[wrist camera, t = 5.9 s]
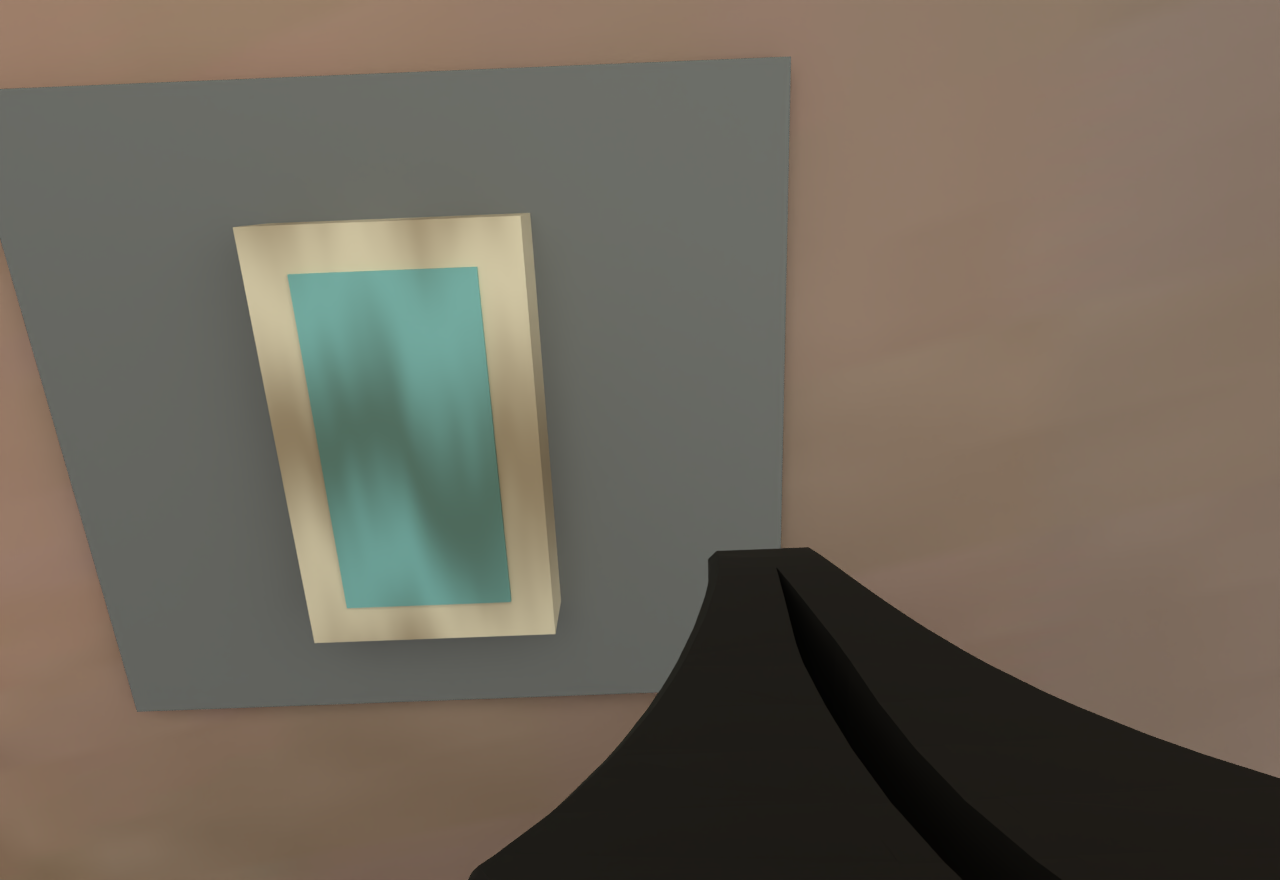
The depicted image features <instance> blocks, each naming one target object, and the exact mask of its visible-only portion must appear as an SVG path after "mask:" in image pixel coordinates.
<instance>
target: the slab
mask: <svg viewBox="0 0 1280 880" xmlns="http://www.w3.org/2000/svg"><path fill="white" fill-rule="evenodd" d="M233 232H234V237H235V242H236V247H237V252H238V257H239V262H240V267H241V272H242V277H243V282H244V288H245V293H246V298H247V303H248V308H249V313H250V318H251V323H252V328H253V333H254V338H255V343H256V348H257V354H258V359H259V364H260V369H261V374H262V379H263V384H264V389H265V394H266V399H267V404H268V409H269V414H270V420H271V425H272V430H273V435H274V440H275V445H276V450H277V455H278V460H279V465H280V470H281V475H282V480H283V486H284V491H285V496H286V501H287V506H288V511H289V516H290V521H291V526H292V531H293V536H294V541H295V546H296V552H297V557H298V562H299V567H300V572H301V577H302V582H303V587H304V592H305V597H306V602H307V607H308V612H309V618H310V623H311V628H312V633H313V638H314V643H331V642H357V641H384V640H411V639H438V638H464V637H491V636H518V635H545V634H555V633H556V627H557V622H558V616H559V610H560V605H561V594H560V581H559V569H558V556H557V543H556V531H555V518H554V506H553V493H552V481H551V468H550V456H549V443H548V430H547V418H546V405H545V393H544V380H543V368H542V355H541V343H540V330H539V317H538V305H537V292H536V280H535V267H534V255H533V242H532V230H531V217H530V213H514V214H489V215H465V216H440V217H415V218H390V219H365V220H340V221H315V222H290V223H267V224H257V225H248V226H239V227H233Z"/></svg>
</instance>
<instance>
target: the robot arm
mask: <svg viewBox="0 0 1280 880" xmlns="http://www.w3.org/2000/svg"><path fill="white" fill-rule="evenodd" d="M468 880H1280V778H1277V777H1273V776H1270V775H1267V774H1264V773H1261V772H1258V771H1255V770H1251V769H1248V768H1245V767H1242V766H1239V765H1236V764H1233V763H1229V762H1226V761H1223V760H1220V759H1217V758H1214V757H1210V756H1207V755H1204V754H1201V753H1198V752H1195V751H1193V750H1190V749H1187V748H1184V747H1181V746H1178V745H1176V744H1173V743H1170V742H1167V741H1164V740H1161V739H1159V738H1156V737H1153V736H1150V735H1148V734H1145V733H1142V732H1140V731H1137V730H1135V729H1132V728H1130V727H1127V726H1125V725H1122V724H1120V723H1117V722H1115V721H1112V720H1110V719H1107V718H1105V717H1102V716H1100V715H1097V714H1095V713H1092V712H1090V711H1087V710H1085V709H1082V708H1080V707H1077V706H1075V705H1073V704H1071V703H1068V702H1066V701H1064V700H1061V699H1059V698H1057V697H1055V696H1052V695H1050V694H1048V693H1046V692H1044V691H1042V690H1039V689H1037V688H1035V687H1033V686H1031V685H1029V684H1027V683H1025V682H1023V681H1021V680H1019V679H1017V678H1015V677H1013V676H1011V675H1009V674H1007V673H1005V672H1003V671H1001V670H999V669H997V668H995V667H993V666H991V665H989V664H987V663H985V662H983V661H982V660H980V659H978V658H976V657H974V656H972V655H971V654H969V653H967V652H965V651H963V650H962V649H960V648H958V647H957V646H955V645H953V644H952V643H950V642H948V641H947V640H945V639H943V638H942V637H940V636H938V635H937V634H935V633H933V632H932V631H930V630H928V629H927V628H925V627H923V626H922V625H920V624H919V623H917V622H916V621H914V620H913V619H911V618H909V617H908V616H906V615H905V614H903V613H902V612H900V611H899V610H897V609H896V608H894V607H893V606H891V605H890V604H888V603H887V602H886V601H884V600H883V599H881V598H880V597H878V596H877V595H875V594H874V593H873V592H871V591H870V590H868V589H867V588H866V587H864V586H863V585H861V584H860V583H859V582H857V581H856V580H854V579H853V578H852V577H850V576H849V575H848V574H846V573H845V572H843V571H842V570H841V569H839V568H838V567H836V566H835V565H834V564H832V563H831V562H830V561H828V560H827V559H825V558H824V557H823V556H821V555H820V554H818V553H817V552H815V551H813V550H812V549H810V548H808V547H806V548H779V549H753V550H727V551H716V552H715V553H714V554H713V555H712V556H711V557H710V558H709V559H708V586H707V590H706V594H705V598H704V600H703V603H702V606H701V609H700V612H699V614H698V617H697V620H696V623H695V625H694V628H693V630H692V632H691V634H690V636H689V638H688V640H687V642H686V645H685V647H684V649H683V651H682V653H681V655H680V657H679V659H678V661H677V663H676V665H675V666H674V668H673V670H672V672H671V673H670V675H669V677H668V678H667V680H666V682H665V683H664V685H663V687H662V688H661V690H660V691H659V693H658V694H657V696H656V697H655V699H654V700H653V702H652V703H651V705H650V706H649V707H648V709H647V710H646V712H645V713H644V714H643V715H642V717H641V718H640V719H639V721H638V722H637V723H636V724H635V726H634V727H633V728H632V729H631V731H630V732H629V733H628V735H627V736H626V737H625V738H624V740H623V741H622V742H621V743H620V744H619V745H618V747H617V748H616V749H615V750H614V751H613V752H612V754H611V755H610V756H609V757H608V758H607V759H606V760H605V761H604V762H603V763H602V764H601V765H600V766H599V767H598V768H597V769H596V770H595V771H594V772H593V773H592V774H591V775H590V776H589V777H588V778H587V779H586V780H585V781H584V782H583V783H582V784H581V785H580V786H579V787H578V788H577V789H576V790H575V791H574V792H573V793H572V794H570V795H569V796H568V797H567V798H566V799H565V800H564V801H563V802H562V803H561V804H560V805H559V806H558V807H557V808H556V809H555V810H553V811H552V812H551V813H550V814H549V815H548V816H546V817H545V818H544V819H542V820H541V821H540V822H538V823H537V824H536V825H534V826H533V827H532V828H530V829H529V830H528V831H526V832H525V833H524V834H522V835H521V836H520V837H518V838H517V839H516V840H514V841H513V842H512V843H510V844H509V845H508V846H506V847H505V848H504V849H502V850H501V851H500V852H498V853H497V854H496V855H494V856H493V857H491V858H490V859H488V860H487V861H485V862H484V863H482V864H481V865H479V866H478V867H477V868H476V869H475V870H474V871H473V872H472V873H471V875H470V877H469V879H468Z"/></svg>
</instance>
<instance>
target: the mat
mask: <svg viewBox="0 0 1280 880" xmlns="http://www.w3.org/2000/svg"><path fill="white" fill-rule="evenodd" d="M790 75H791V57H769V58H744V59H720V60H696V61H672V62H647V63H623V64H599V65H574V66H550V67H526V68H501V69H477V70H453V71H428V72H404V73H380V74H356V75H331V76H307V77H283V78H258V79H234V80H210V81H185V82H161V83H137V84H112V85H88V86H64V87H40V88H15V89H0V240H1V243H2V246H3V250H4V253H5V257H6V260H7V264H8V267H9V271H10V274H11V277H12V281H13V284H14V288H15V291H16V295H17V298H18V302H19V305H20V309H21V312H22V315H23V319H24V322H25V326H26V329H27V333H28V336H29V340H30V343H31V347H32V350H33V353H34V357H35V360H36V364H37V367H38V371H39V374H40V378H41V381H42V385H43V388H44V391H45V395H46V398H47V402H48V405H49V409H50V412H51V416H52V419H53V423H54V426H55V429H56V433H57V436H58V440H59V443H60V447H61V450H62V454H63V457H64V461H65V464H66V467H67V471H68V474H69V478H70V481H71V485H72V488H73V492H74V495H75V499H76V502H77V505H78V509H79V512H80V516H81V519H82V523H83V526H84V530H85V533H86V537H87V540H88V543H89V547H90V550H91V554H92V557H93V561H94V564H95V568H96V571H97V575H98V578H99V581H100V585H101V588H102V592H103V595H104V599H105V602H106V606H107V609H108V613H109V616H110V619H111V623H112V626H113V630H114V633H115V637H116V640H117V644H118V647H119V651H120V654H121V657H122V661H123V664H124V668H125V671H126V675H127V678H128V682H129V685H130V689H131V692H132V695H133V699H134V702H135V706H136V709H137V712H140V711H167V710H194V709H221V708H248V707H275V706H302V705H329V704H356V703H383V702H410V701H437V700H464V699H491V698H518V697H545V696H572V695H599V694H626V693H653V692H659V691H660V690H661V688H662V687H663V685H664V683H665V682H666V680H667V678H668V677H669V675H670V673H671V672H672V670H673V668H674V666H675V665H676V663H677V661H678V659H679V657H680V655H681V653H682V651H683V649H684V647H685V645H686V642H687V640H688V638H689V636H690V634H691V632H692V630H693V628H694V625H695V623H696V620H697V617H698V614H699V612H700V609H701V606H702V603H703V600H704V598H705V594H706V590H707V586H708V559H709V558H710V557H711V556H712V555H713V554H714V553H715V552H716V551H727V550H753V549H779V548H781V506H782V458H783V410H784V362H785V314H786V267H787V219H788V171H789V123H790ZM514 213H530V217H531V230H532V242H533V255H534V267H535V280H536V292H537V305H538V317H539V330H540V343H541V355H542V368H543V380H544V393H545V405H546V418H547V430H548V443H549V456H550V468H551V481H552V493H553V506H554V518H555V531H556V543H557V556H558V569H559V581H560V594H561V605H560V610H559V616H558V622H557V627H556V633H555V634H545V635H518V636H491V637H464V638H438V639H411V640H384V641H357V642H331V643H314V638H313V633H312V628H311V623H310V618H309V612H308V607H307V602H306V597H305V592H304V587H303V582H302V577H301V572H300V567H299V562H298V557H297V552H296V546H295V541H294V536H293V531H292V526H291V521H290V516H289V511H288V506H287V501H286V496H285V491H284V486H283V480H282V475H281V470H280V465H279V460H278V455H277V450H276V445H275V440H274V435H273V430H272V425H271V420H270V414H269V409H268V404H267V399H266V394H265V389H264V384H263V379H262V374H261V369H260V364H259V359H258V354H257V348H256V343H255V338H254V333H253V328H252V323H251V318H250V313H249V308H248V303H247V298H246V293H245V288H244V282H243V277H242V272H241V267H240V262H239V257H238V252H237V247H236V242H235V237H234V232H233V227H239V226H248V225H257V224H267V223H290V222H315V221H340V220H365V219H390V218H415V217H440V216H465V215H489V214H514Z"/></svg>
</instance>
